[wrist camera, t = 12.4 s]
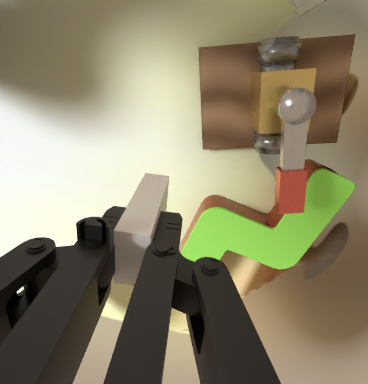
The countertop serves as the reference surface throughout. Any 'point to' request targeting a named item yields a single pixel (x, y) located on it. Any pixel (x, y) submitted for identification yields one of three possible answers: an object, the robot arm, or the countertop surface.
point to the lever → (293, 149)
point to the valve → (275, 88)
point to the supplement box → (304, 5)
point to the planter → (267, 223)
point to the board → (240, 89)
